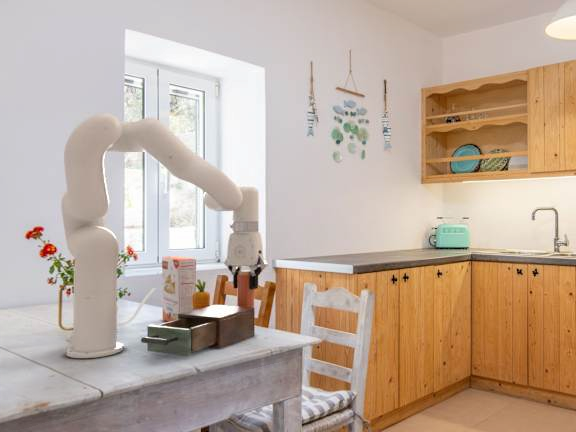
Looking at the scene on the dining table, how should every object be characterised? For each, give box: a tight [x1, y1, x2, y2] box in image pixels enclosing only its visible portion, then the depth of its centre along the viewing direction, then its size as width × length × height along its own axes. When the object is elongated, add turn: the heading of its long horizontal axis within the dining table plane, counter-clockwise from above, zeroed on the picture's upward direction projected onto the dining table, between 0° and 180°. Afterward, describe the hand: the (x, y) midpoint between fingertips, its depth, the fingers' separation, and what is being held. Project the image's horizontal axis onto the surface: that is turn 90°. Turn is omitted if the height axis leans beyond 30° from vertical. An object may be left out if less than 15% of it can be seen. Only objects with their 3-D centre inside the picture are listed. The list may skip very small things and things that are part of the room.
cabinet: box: [178, 304, 256, 350], centre depth 146 cm, size 16×14×8 cm
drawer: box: [140, 317, 218, 357], centre depth 133 cm, size 19×12×6 cm, turn 160°
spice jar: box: [236, 269, 255, 308], centre depth 158 cm, size 5×5×11 cm
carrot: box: [193, 279, 211, 310], centre depth 159 cm, size 5×5×15 cm
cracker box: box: [161, 255, 197, 322], centre depth 168 cm, size 14×6×21 cm, turn 42°
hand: (245, 287), depth 158 cm, fingers closed on spice jar, 5 cm apart
